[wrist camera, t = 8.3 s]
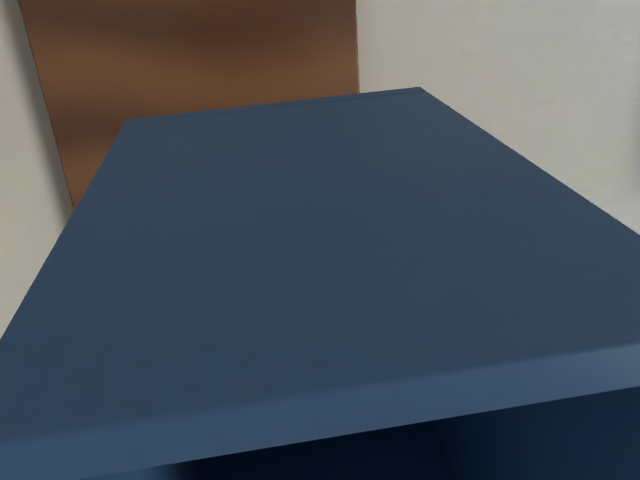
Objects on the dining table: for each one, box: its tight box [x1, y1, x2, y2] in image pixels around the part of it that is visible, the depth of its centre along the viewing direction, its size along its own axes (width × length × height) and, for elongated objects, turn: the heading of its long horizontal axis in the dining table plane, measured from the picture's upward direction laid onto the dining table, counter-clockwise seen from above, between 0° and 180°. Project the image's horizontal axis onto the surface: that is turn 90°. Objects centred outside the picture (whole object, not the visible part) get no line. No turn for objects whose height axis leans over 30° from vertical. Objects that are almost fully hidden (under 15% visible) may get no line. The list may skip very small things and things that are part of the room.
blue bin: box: [0, 87, 640, 480], centre depth 13 cm, size 10×8×12 cm
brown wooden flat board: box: [18, 0, 360, 210], centre depth 33 cm, size 20×16×1 cm
